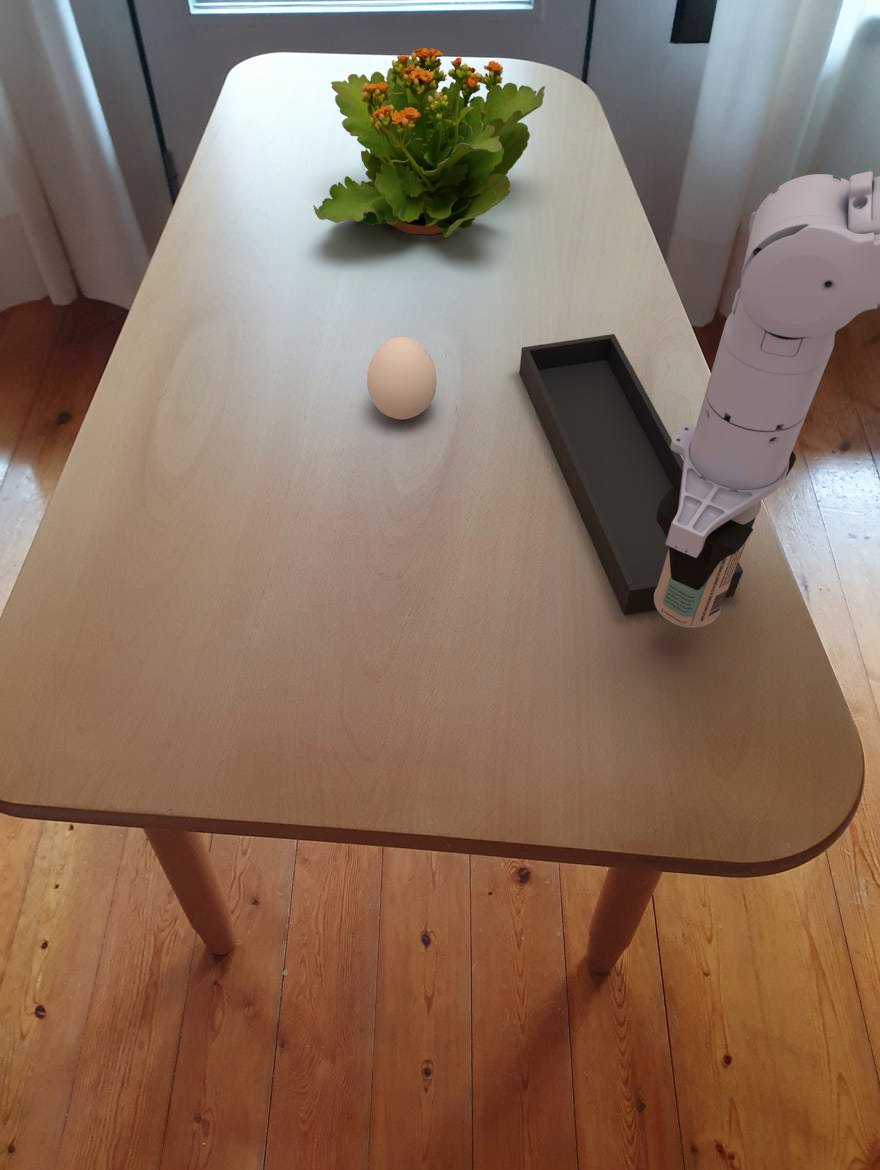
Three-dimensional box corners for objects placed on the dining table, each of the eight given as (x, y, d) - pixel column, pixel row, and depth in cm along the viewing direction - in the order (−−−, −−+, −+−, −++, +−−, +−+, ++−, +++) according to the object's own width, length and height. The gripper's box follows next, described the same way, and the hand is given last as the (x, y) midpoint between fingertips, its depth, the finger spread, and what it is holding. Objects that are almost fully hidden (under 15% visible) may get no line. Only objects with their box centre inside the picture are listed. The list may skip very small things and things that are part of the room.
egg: (392, 382, 95) (390, 311, 88) (449, 404, 92) (450, 333, 86) (355, 420, 91) (350, 349, 85) (413, 444, 89) (412, 373, 83)
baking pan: (733, 595, 78) (743, 571, 76) (623, 615, 77) (630, 590, 75) (609, 359, 96) (614, 333, 93) (519, 372, 95) (521, 347, 93)
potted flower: (343, 152, 121) (332, -7, 107) (536, 158, 119) (550, -3, 105) (313, 269, 106) (296, 103, 92) (532, 277, 104) (549, 109, 90)
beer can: (716, 582, 72) (760, 462, 63) (722, 633, 69) (770, 516, 60) (650, 578, 73) (684, 459, 63) (654, 629, 70) (690, 512, 60)
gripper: (740, 311, 61) (692, 471, 72) (636, 445, 54) (601, 600, 65) (852, 349, 58) (785, 509, 69) (759, 495, 51) (701, 647, 62)
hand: (703, 556), depth 67 cm, fingers closed on beer can, 5 cm apart
